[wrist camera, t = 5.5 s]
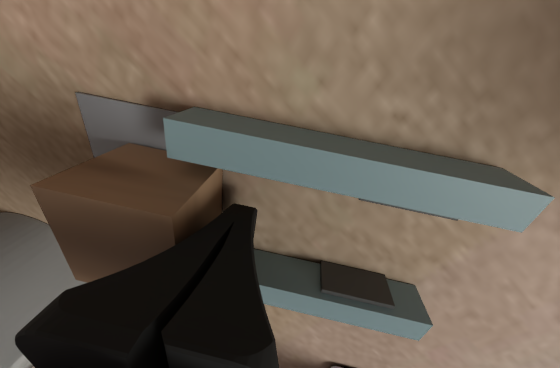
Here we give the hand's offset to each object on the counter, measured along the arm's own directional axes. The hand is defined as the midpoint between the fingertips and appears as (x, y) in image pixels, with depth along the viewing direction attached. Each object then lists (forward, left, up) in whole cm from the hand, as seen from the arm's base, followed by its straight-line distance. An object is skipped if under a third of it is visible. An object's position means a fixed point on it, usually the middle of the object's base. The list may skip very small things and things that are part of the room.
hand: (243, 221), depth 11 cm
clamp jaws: (0, -4, -1) cm, 4 cm away
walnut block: (0, +4, -1) cm, 4 cm away
